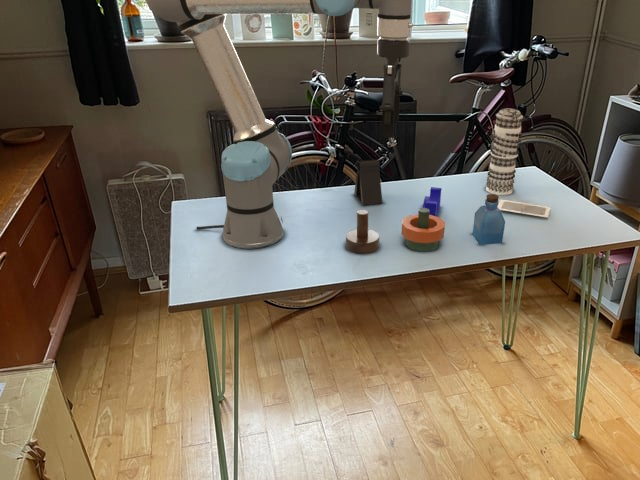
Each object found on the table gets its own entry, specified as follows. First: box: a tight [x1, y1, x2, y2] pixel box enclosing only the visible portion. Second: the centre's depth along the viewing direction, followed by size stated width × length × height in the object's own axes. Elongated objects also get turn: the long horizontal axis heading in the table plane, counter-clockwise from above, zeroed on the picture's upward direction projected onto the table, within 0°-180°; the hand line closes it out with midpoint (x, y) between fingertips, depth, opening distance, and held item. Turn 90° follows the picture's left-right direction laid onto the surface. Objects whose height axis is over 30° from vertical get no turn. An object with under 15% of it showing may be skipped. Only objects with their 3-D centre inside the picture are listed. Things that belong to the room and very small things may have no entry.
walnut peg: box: [345, 209, 380, 255], centre depth 147 cm, size 8×8×10 cm
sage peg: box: [405, 207, 439, 252], centre depth 149 cm, size 8×8×10 cm
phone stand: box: [353, 158, 383, 206], centre depth 172 cm, size 9×6×12 cm, turn 19°
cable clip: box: [422, 186, 442, 217], centre depth 166 cm, size 12×4×6 cm, turn 169°
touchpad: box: [497, 198, 552, 218], centre depth 170 cm, size 8×15×2 cm, turn 70°
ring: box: [400, 213, 446, 243], centre depth 149 cm, size 11×11×3 cm
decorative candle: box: [485, 107, 524, 196], centre depth 178 cm, size 9×9×25 cm
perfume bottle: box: [472, 193, 506, 245], centre depth 152 cm, size 6×6×12 cm
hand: (390, 129), depth 146 cm, fingers open, 13 cm apart
